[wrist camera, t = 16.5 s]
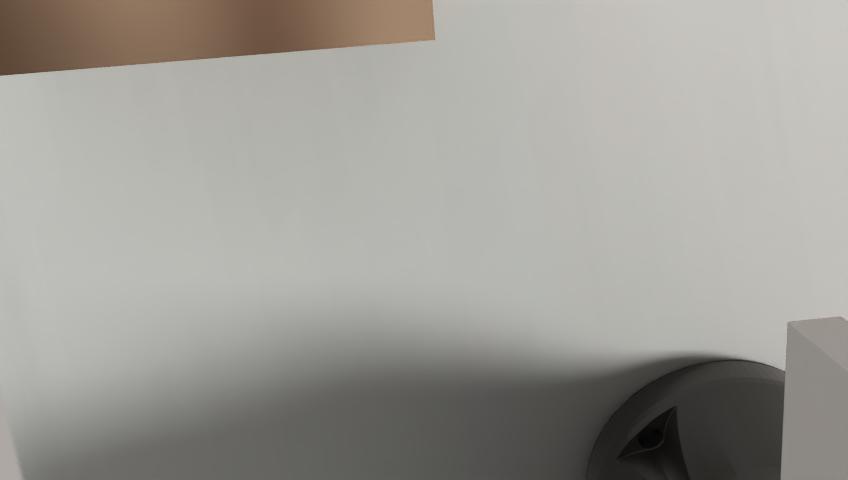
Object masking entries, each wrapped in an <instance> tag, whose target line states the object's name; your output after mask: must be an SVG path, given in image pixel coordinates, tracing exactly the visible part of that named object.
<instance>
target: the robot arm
mask: <svg viewBox="0 0 848 480" xmlns="http://www.w3.org/2000/svg"><path fill="white" fill-rule="evenodd" d="M587 480H848V321H846V320H845V319H844V318H842V317H831V318H822V319H812V320H802V321H793V322H788V325H787V347H786V370H785V372H784V371H782V370H779V369H777V368H774V367H770V366H767V365H763V364H759V363H752V362H744V361H719V362H711V363H705V364H699V365H695V366H691V367H688V368H685V369H681V370H679V371H676V372H673V373H671V374H669V375H667V376H664V377H662V378H660V379H658V380H656V381H655V382H653V383H651V384H650V385H648V386H646V387H645V388H643V389H642V390H640V391H639V392H638V393H636V394H635V395H634V396H633V397H631V398H630V399H629V400H628V401H627V402H626V403H625V404H624V405H622V406H621V407H620V409H619V410H618V411H617V412H616V413H615V414H614V415H613V416H612V418H611V419H610V420H609V422H608V423H607V424H606V426H605V427H604V429H603V431H602V432H601V434H600V436H599V438H598V440H597V442H596V444H595V446H594V449H593V451H592V455H591V458H590V462H589V466H588V473H587Z"/></svg>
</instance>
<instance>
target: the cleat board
mask: <svg viewBox="0 0 848 480" xmlns="http://www.w3.org/2000/svg"><path fill="white" fill-rule="evenodd" d="M426 40H435V33H434V19H433V4H432V0H0V76H1V75H13V74H25V73H37V72H50V71H62V70H74V69H86V68H98V67H110V66H122V65H134V64H147V63H159V62H171V61H183V60H195V59H207V58H219V57H232V56H244V55H256V54H268V53H280V52H292V51H304V50H317V49H329V48H341V47H353V46H365V45H377V44H389V43H402V42H414V41H426Z"/></svg>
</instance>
